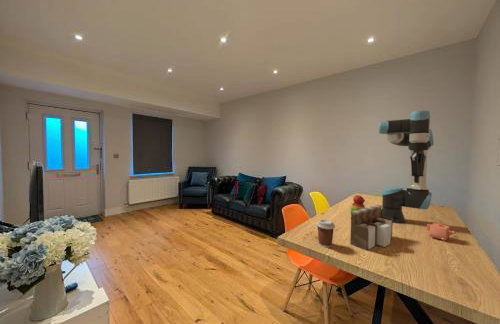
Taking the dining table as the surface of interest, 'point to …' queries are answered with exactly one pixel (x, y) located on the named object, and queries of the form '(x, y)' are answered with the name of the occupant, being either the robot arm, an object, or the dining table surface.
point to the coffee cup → (325, 232)
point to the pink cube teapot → (439, 231)
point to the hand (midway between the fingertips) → (417, 189)
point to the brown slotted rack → (367, 217)
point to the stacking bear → (357, 203)
